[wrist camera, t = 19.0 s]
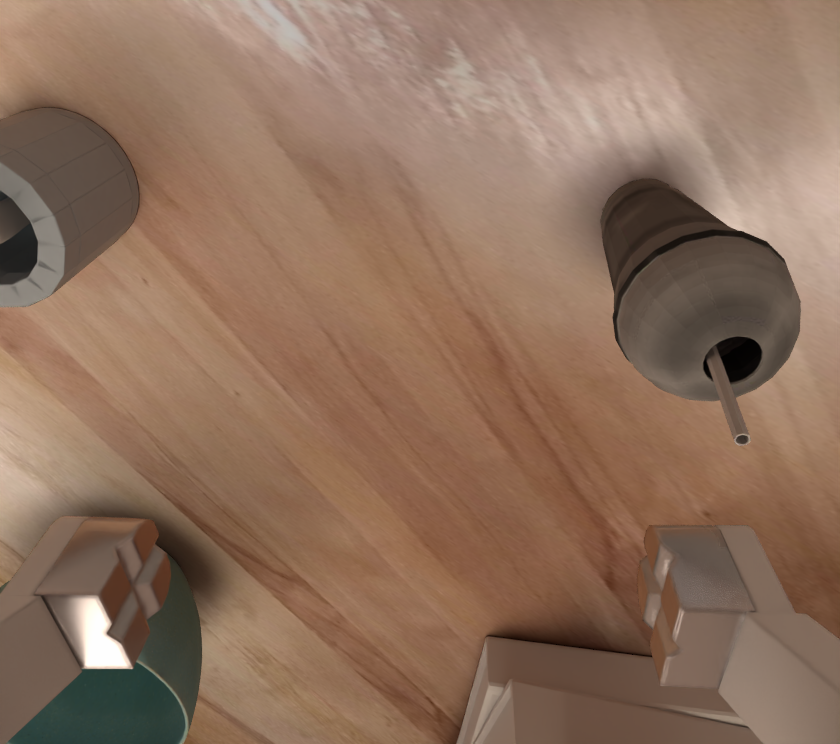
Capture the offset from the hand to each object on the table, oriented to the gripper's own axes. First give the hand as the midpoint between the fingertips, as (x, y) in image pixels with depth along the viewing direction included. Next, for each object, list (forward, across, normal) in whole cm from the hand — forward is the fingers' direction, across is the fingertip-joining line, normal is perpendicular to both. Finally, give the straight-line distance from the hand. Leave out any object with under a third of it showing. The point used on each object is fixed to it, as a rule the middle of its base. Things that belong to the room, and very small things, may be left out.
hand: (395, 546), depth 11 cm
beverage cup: (+29, -11, +5) cm, 32 cm away
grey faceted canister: (+29, +22, +2) cm, 36 cm away
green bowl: (+29, +28, +36) cm, 54 cm away
